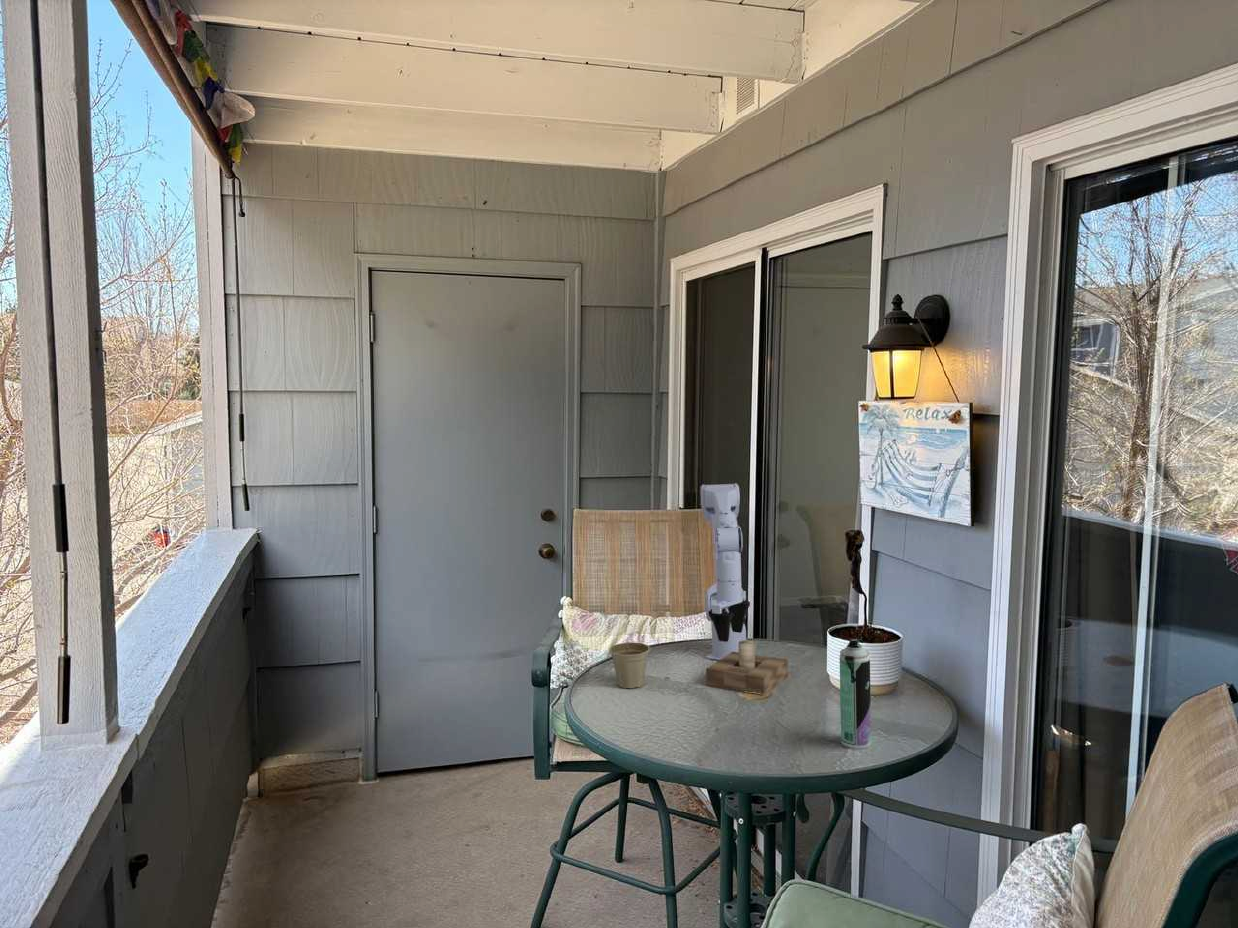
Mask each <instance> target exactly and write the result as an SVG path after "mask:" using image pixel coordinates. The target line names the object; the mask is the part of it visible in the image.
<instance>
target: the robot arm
mask: <svg viewBox="0 0 1238 928" xmlns="http://www.w3.org/2000/svg"><path fill="white" fill-rule="evenodd" d="M740 500H741V495H740V486H739V485H738V483H736V482H735V483H727V484H726V483H725V484H724V483H723V484H701V486H700V506H701V515H702V518H703V519H704V520H706V521H707V522H709V524H710V527H711V531H712V545H713V546H712V547H713V558H714V559H713V560H714V576H715V577H714V578H715V582H714V583H713V584H712V585H711V586H709V587H708V588H707V589H706V591H705V601H704V602H705V605H704V606H705V618H706V619H705V620H707V621H708V622H710V623H711V624H710V625H711V643H712V644H711V651H712V652H711V653H709V654H707V655H706V656H705V658H706V659H707V660H715V661H719V660H720V659H722V658H723V657H725V656H727V655H728V654H730V653H731V652H739V642H740V641H747V630H746V629H747V628H746V625H745V620H746V618H747V617H746V616H747V612H748V610H749V608H750V606H751V601H748V600H747V594H746V592H747V591H746V590H744V589H743V588H742V562H741V561H742V560H741V559H742V557H741V555H742V554H741V553H742V552H743V532H742V529H741V526H739V524H738V520H737V518H738V516H739V513H740V503H741V502H740Z"/></svg>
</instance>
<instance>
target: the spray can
mask: <svg viewBox="0 0 1238 928" xmlns="http://www.w3.org/2000/svg"><path fill="white" fill-rule="evenodd" d="M839 653H840V654H839V690H840V691H839V693H840V695H839V696H840V697H839V699H840V700H839V701H840V708H839V709H840V743H841V745H842V746H844V747H846V748H848V749H852V750H865V749H868V748H870V747H871V746H872V715H871V714H872V711H871V709H872V708H871V707H872V706H871V702H872V701H871V656H870V652H869V650H868V649H865V648H864V647H863V645H861V644H860V640H859V638H851V639H850V640H849V642H848V644H847V645H846V647H845V648H842V649H841V650H840V651H839Z"/></svg>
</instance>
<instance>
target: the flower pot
mask: <svg viewBox="0 0 1238 928" xmlns="http://www.w3.org/2000/svg"><path fill="white" fill-rule="evenodd" d="M608 651H609V653H610V654H611V658H612V659H613V666H614V670H615V671H614V672H615V676H616V681H617V685H618V686H619V688H621V687H622V688H621V689H626V688H633V689H634V688H642V687H643V686H644V685H645V682H646V669H647V662H648V661H647V659H648V657H649V653H650V651H651V647H650V645H648V644H645V643H641V642H634V641H633V642H631V641H630V642H621V643H617V644H613V645H611V646H610V648H609V650H608ZM641 686H642V687H641Z"/></svg>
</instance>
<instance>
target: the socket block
mask: <svg viewBox="0 0 1238 928" xmlns="http://www.w3.org/2000/svg"><path fill="white" fill-rule="evenodd" d="M788 661H789V660H788V659H786V658H779V657H772V656H764V655H759V654H758V655H757V654H755V668H754V669H749V668H743V667H739V652H731V653H730V654H728V655H727V656H725V657H723V658H722V659H720V660H716V662H715V663H713V664H712V665H710V666H708V667H706V672H705V673H706V676H705V677H706V686H707V687H710V688H711V687H712V688H717V689H723V690H728V691H729V690H730V691H734V692H735V691H736V692H741V693H745V692H744V691H747V692H756V693H761V694H765V693H767V694H768V693H769V692H771V691H772V690H773V689H774V688H776V687H777V686H778V685H779V684H781V682H783V681H784V680H785V679H786V678H788V677H789V670H788V669H789V667H788V666H789V665H788Z"/></svg>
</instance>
